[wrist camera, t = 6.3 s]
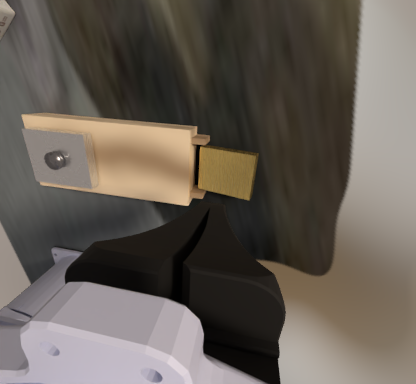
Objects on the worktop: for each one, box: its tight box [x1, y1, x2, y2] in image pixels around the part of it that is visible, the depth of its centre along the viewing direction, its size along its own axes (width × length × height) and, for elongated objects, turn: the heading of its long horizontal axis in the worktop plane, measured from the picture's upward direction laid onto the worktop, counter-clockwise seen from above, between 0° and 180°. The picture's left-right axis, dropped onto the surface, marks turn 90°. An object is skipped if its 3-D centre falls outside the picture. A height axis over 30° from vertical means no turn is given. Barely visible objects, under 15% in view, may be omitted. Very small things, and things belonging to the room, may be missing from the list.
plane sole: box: [22, 113, 210, 206], centre depth 21 cm, size 7×17×2 cm, turn 87°
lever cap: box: [22, 127, 99, 189], centre depth 20 cm, size 5×6×2 cm
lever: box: [198, 145, 259, 200], centre depth 20 cm, size 4×1×5 cm
